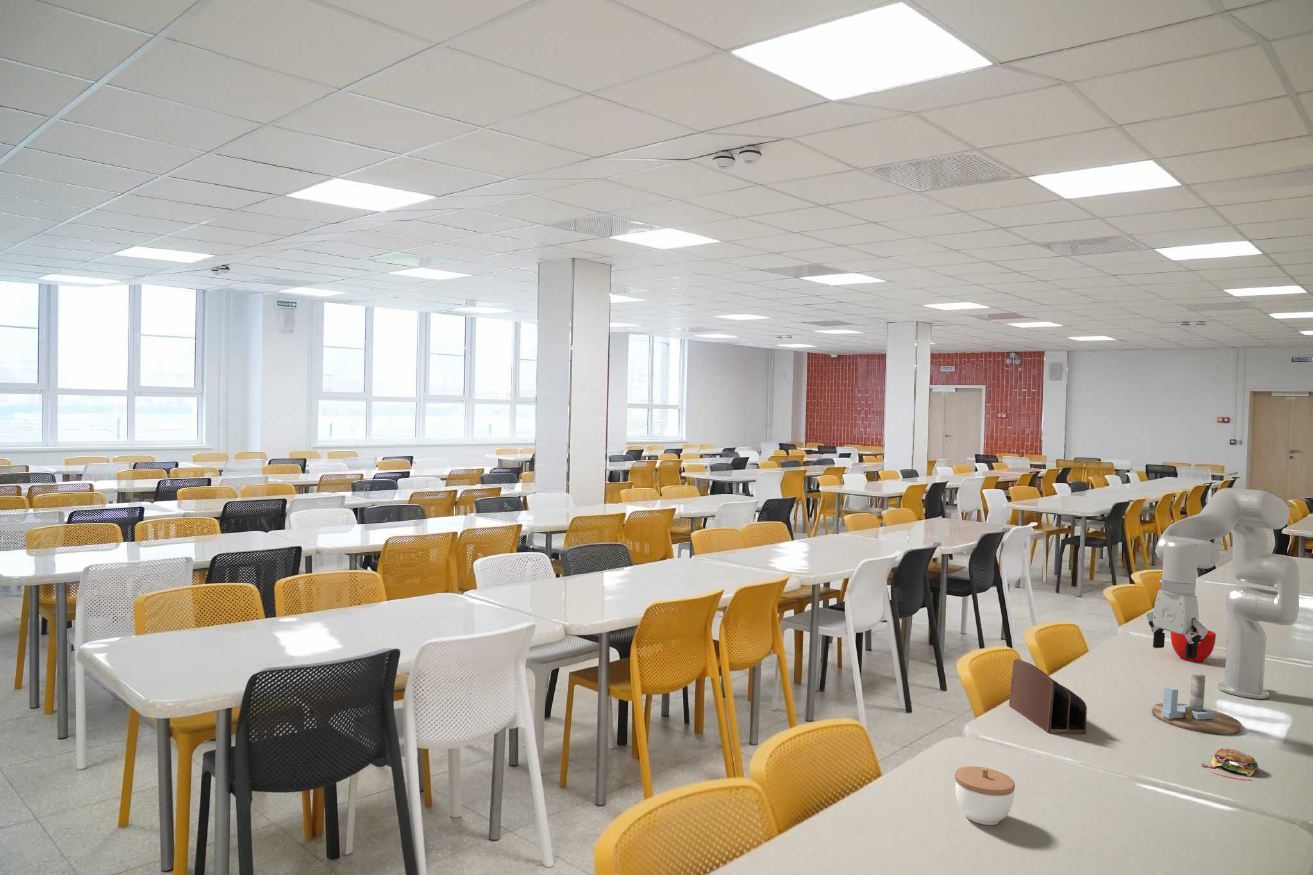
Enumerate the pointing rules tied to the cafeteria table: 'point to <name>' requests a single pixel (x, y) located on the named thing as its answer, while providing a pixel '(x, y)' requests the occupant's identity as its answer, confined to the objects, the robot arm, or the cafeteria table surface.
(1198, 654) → the red bowl
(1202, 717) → the blue square ring handle
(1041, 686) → the letter holder
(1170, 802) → the cafeteria table surface
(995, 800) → the lidded jar
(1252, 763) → the hamburger
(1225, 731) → the post base
